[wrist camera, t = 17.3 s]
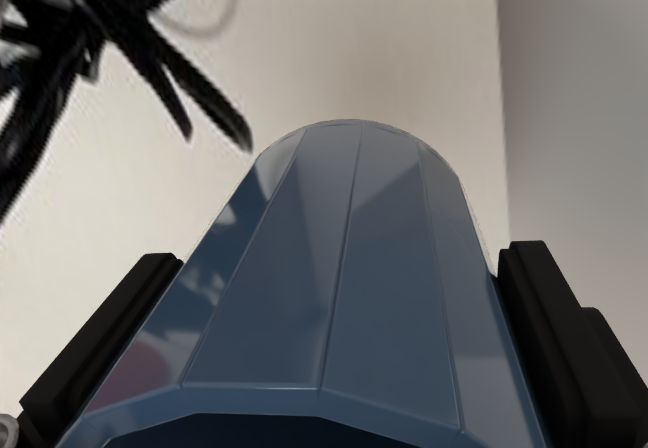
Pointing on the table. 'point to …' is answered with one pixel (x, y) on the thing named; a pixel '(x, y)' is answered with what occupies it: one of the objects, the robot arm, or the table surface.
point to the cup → (326, 315)
